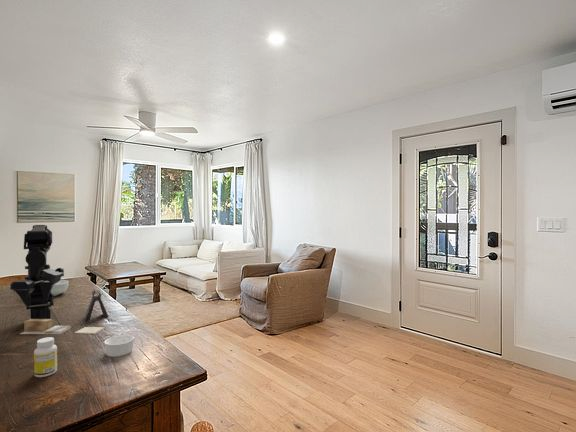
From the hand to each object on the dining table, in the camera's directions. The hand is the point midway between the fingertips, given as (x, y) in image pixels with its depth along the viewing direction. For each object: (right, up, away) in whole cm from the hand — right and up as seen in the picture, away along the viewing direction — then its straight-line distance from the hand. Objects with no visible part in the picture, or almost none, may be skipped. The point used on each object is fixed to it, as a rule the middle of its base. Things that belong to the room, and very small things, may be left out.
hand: (37, 303), depth 126 cm
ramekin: (+41, -12, -17) cm, 46 cm away
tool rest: (+3, -11, 0) cm, 12 cm away
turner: (+3, -11, 0) cm, 11 cm away
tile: (+16, -11, +1) cm, 20 cm away
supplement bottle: (+27, -12, -31) cm, 43 cm away
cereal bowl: (-35, -11, +55) cm, 66 cm away
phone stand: (+13, -12, +17) cm, 24 cm away
